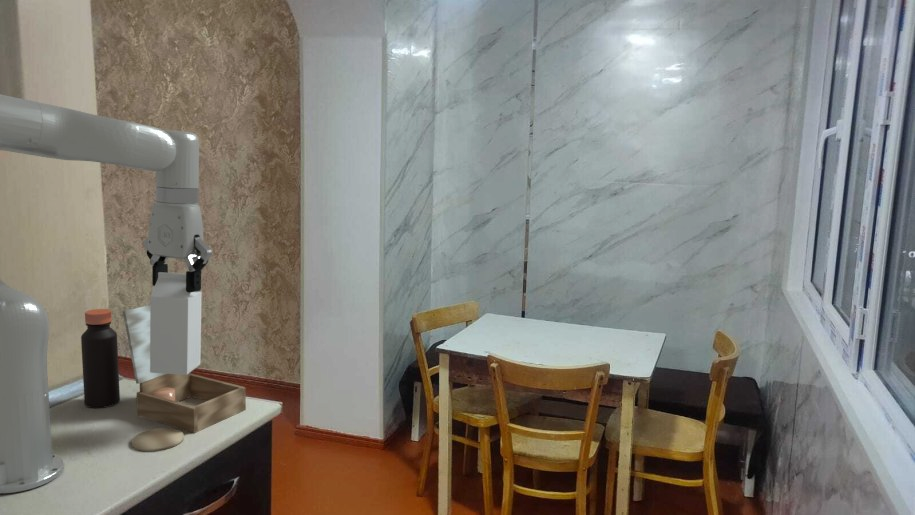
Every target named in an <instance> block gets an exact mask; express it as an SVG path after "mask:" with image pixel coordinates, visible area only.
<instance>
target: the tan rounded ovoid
mask: <svg viewBox="0 0 915 515" xmlns="http://www.w3.org/2000/svg"><path fill="white" fill-rule="evenodd" d="M152 395H154V396H158V397H161V398H165V399H169V400H172V401H175V389H173V388H168V387H165V388H158V389H155V390H153V391H152Z"/></svg>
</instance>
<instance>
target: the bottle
mask: <svg viewBox="0 0 915 515" xmlns="http://www.w3.org/2000/svg"><path fill="white" fill-rule="evenodd" d="M84 321H85V326H86V328H87V329H86V330H85V331H84V332H83V333H82V334H81V336H80V344H81V359H82V379H83V398H84V405H85V407H87V408H88V407H89V408H91V409H92V408H94V409H100V408H101V409H102V408H107V407H112V406H114V405H116V404H118V403H119V402H120V400H121V392H120V371H119V351H118V349H119V348H118V333H117V332H116V330H115V329H113V328H112V327H111V324H112V310H110V309H107V308H106V309H105V308H96V309H95V308H94V309H90V310H86V311H85V312H84Z"/></svg>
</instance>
